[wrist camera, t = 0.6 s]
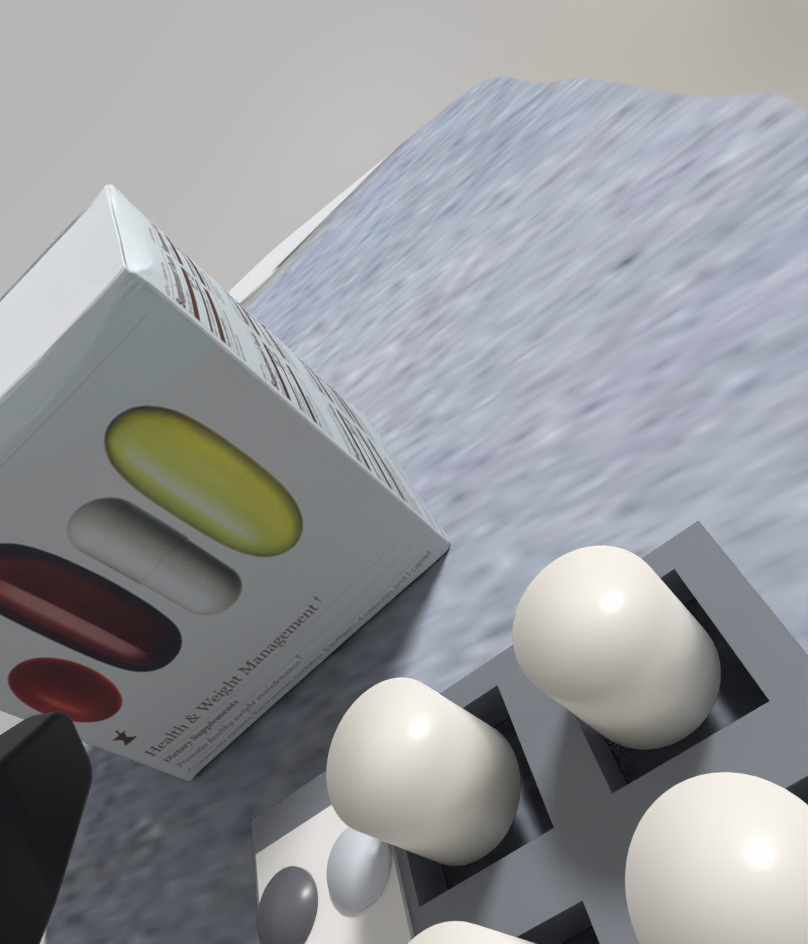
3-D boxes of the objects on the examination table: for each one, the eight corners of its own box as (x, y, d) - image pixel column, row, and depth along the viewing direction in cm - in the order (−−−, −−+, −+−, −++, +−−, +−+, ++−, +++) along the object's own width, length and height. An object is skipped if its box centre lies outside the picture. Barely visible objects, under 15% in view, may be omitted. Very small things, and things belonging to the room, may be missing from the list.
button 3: (961, 993, 15) (923, 965, 12) (763, 1082, 16) (694, 1072, 13) (815, 786, 18) (765, 733, 16) (661, 871, 19) (591, 833, 17)
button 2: (541, 822, 22) (466, 784, 19) (424, 892, 23) (339, 863, 20) (493, 697, 25) (424, 650, 23) (393, 762, 26) (316, 724, 24)
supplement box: (192, 795, 35) (-241, 640, 24) (164, 610, 45) (-145, 446, 35) (463, 545, 33) (126, 254, 22) (368, 413, 43) (109, 173, 33)
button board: (1117, 1042, 14) (1114, 1030, 13) (345, 1360, 19) (280, 1378, 18) (720, 549, 25) (693, 514, 24) (286, 833, 30) (243, 817, 29)
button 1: (753, 697, 20) (699, 637, 18) (616, 778, 21) (548, 732, 19) (671, 580, 23) (616, 517, 21) (556, 655, 25) (492, 603, 22)
